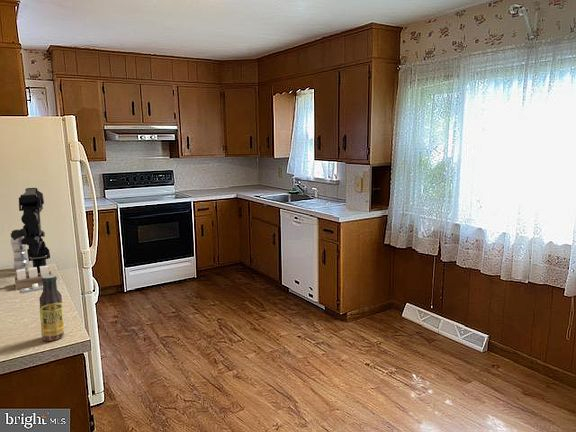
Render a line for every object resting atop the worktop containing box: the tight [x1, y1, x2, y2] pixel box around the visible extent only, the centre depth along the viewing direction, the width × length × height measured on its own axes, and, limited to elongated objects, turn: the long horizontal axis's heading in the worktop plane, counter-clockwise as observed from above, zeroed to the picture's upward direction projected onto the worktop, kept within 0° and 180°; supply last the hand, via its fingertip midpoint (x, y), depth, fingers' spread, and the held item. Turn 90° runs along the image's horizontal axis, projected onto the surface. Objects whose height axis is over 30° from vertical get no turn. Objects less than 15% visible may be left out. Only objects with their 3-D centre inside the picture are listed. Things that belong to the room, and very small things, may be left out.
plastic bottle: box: [10, 228, 30, 271], centre depth 213 cm, size 6×7×20 cm
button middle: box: [27, 266, 38, 278], centre depth 189 cm, size 3×3×5 cm
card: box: [20, 283, 43, 294], centre depth 183 cm, size 4×10×2 cm, turn 123°
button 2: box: [40, 264, 50, 276], centre depth 192 cm, size 3×3×5 cm
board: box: [14, 270, 53, 291], centre depth 190 cm, size 10×14×4 cm
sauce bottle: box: [39, 274, 65, 342], centre depth 133 cm, size 6×6×20 cm
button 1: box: [15, 269, 27, 280], centre depth 187 cm, size 3×3×5 cm
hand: (35, 255), depth 196 cm, fingers closed
